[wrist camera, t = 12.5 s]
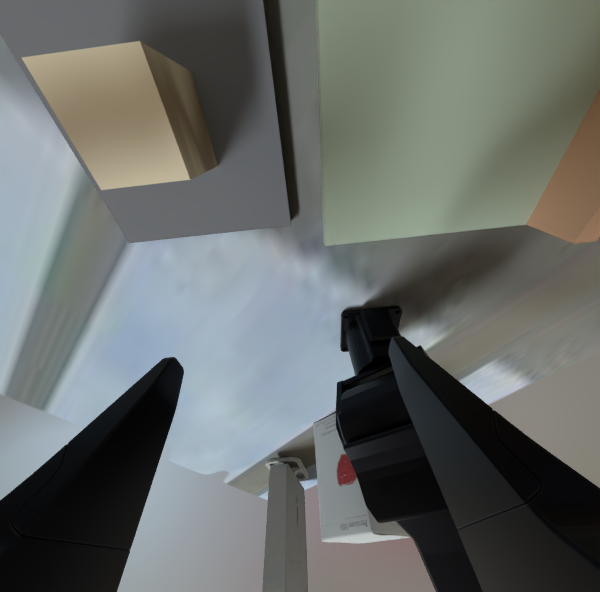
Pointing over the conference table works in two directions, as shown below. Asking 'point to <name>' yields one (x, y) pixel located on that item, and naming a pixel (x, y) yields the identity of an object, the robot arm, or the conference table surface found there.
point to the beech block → (127, 113)
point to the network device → (285, 529)
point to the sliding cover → (458, 117)
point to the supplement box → (344, 494)
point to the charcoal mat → (212, 94)
